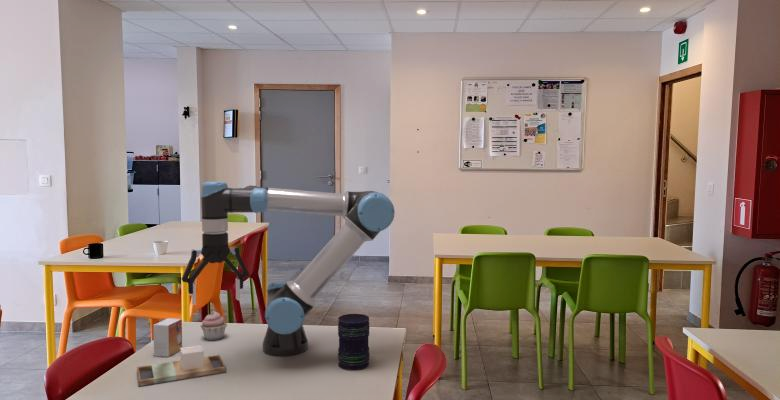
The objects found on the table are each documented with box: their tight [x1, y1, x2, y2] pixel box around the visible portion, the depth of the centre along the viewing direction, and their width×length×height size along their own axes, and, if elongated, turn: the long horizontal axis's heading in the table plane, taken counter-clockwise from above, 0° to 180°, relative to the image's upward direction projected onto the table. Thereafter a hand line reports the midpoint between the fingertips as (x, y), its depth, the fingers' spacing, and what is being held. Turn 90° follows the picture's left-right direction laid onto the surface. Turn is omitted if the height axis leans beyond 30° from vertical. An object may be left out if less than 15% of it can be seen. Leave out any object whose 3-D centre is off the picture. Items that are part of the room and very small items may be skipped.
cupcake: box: [199, 310, 228, 341], centre depth 197 cm, size 9×9×10 cm
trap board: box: [136, 354, 227, 388], centre depth 165 cm, size 24×12×2 cm, turn 117°
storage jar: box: [337, 313, 370, 372], centre depth 171 cm, size 10×10×15 cm
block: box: [179, 344, 205, 371], centre depth 166 cm, size 6×6×5 cm
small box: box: [152, 317, 183, 358], centre depth 181 cm, size 8×6×10 cm
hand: (216, 301), depth 168 cm, fingers open, 12 cm apart
